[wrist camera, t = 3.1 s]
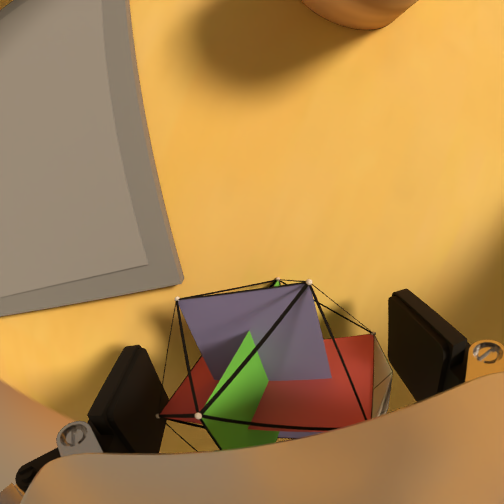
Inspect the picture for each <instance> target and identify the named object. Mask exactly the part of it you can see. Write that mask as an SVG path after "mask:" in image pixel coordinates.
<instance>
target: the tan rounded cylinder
mask: <svg viewBox="0 0 504 504" xmlns="http://www.w3.org/2000/svg"><path fill="white" fill-rule="evenodd" d="M301 1H302V2H303V3H304V4H305V5H306V6H307V7H308V8H310V9H311V10H312V11H314V12H315V13H317V14H318V15H320V16H321V17H323V18H325V19H327V20H329V21H331V22H334V23H336V24H339V25H342V26H345V27H349V28H354V29H361V30H373V29H379V28H382V27H385V26H387V25H389V24H390V23H391V22H393V21H394V20H395V19H396V18H397V17H399V16H400V15H401V14H402V13H403V12H405V11H406V10H407V9H408V8H409V7H411V6H412V5H413V4H414V3H416V2H417V1H418V0H301Z"/></svg>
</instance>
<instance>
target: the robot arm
mask: <svg viewBox="0 0 504 504" xmlns="http://www.w3.org/2000/svg"><path fill="white" fill-rule="evenodd" d="M388 315H389V323H388V358H389V361H390V363H391V365H392V366H393V368H394V369H395V370H396V372H397V373H398V375H399V376H400V378H401V379H402V380H403V382H404V383H405V385H406V386H407V388H408V389H409V391H410V392H411V394H412V395H413V397H414V398H415V400H416V401H417V402H416V403H414V404H411V405H409V406H406V407H403V408H401V409H398V410H395V411H392V412H390V413H387V414H384V415H381V416H378V417H375V418H372V419H369V420H365V421H362V422H359V423H356V424H352V425H349V426H345V427H342V428H338V429H334V430H330V431H326V432H322V433H318V434H314V435H310V436H305V437H301V438H296V439H291V440H286V441H280V442H275V443H269V444H263V445H256V446H250V447H242V448H234V449H225V450H215V451H203V452H187V453H159V450H160V446H161V441H162V437H163V433H164V429H165V425H166V423H165V422H166V421H167V419H163V418H161V419H163V420H164V421H165V422H163V421H162V420H161V419H160V418H156V414H158V413H160V412H161V411H162V409H163V408H164V407H165V405H166V404H167V402H168V401H169V398H168V396H167V394H166V392H165V390H164V388H163V387H162V384H161V382H160V380H159V377H158V375H157V373H156V371H155V369H154V366H153V364H152V362H151V360H150V357H149V355H148V353H147V351H146V349H145V348H142V347H141V346H140V345H134V346H126V347H125V348H124V349H123V351H122V353H121V354H120V356H119V358H118V360H117V361H116V363H115V365H114V367H113V368H112V370H111V372H110V374H109V376H108V377H107V379H106V381H105V383H104V385H103V387H102V388H101V390H100V392H99V394H98V396H97V398H96V399H95V401H94V403H93V405H92V407H91V409H90V411H89V413H88V415H87V416H88V418H89V421H88V423H86V422H83V421H76V422H72V423H69V424H68V425H66V426H64V427H63V428H62V429H61V430H60V432H59V433H58V435H57V438H56V440H57V446H58V448H56V449H54V450H52V451H50V452H48V453H46V454H44V455H42V456H40V457H38V458H37V459H35V460H33V461H31V462H29V463H27V464H25V465H23V466H22V467H21V468H20V469H19V470H18V472H17V474H16V478H15V479H16V485H14V484H13V483H11V484H10V485H9V486H7V487H6V488H5V489H4V490H3V491H1V492H0V504H504V346H503V345H502V344H501V343H499V342H497V341H494V340H480V341H477V342H475V343H473V344H472V345H470V344H469V343H468V342H467V338H465V337H464V336H463V335H462V334H461V333H460V332H459V331H457V330H456V329H455V328H454V327H453V326H452V325H450V324H449V323H448V322H447V321H446V320H445V319H443V318H442V317H441V316H440V315H439V314H437V313H436V312H435V311H434V310H433V309H431V308H430V307H429V306H428V305H427V304H425V303H424V302H423V301H422V300H421V299H419V298H418V297H417V296H416V295H414V294H413V293H412V292H411V291H409V290H408V289H403V290H400V291H397V292H393V294H392V297H390V298H389V300H388ZM161 389H162V394H161ZM160 397H161V402H160ZM159 405H160V409H159Z"/></svg>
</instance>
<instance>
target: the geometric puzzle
mask: <svg viewBox="0 0 504 504" xmlns="http://www.w3.org/2000/svg"><path fill="white" fill-rule="evenodd" d="M280 280H281V279H280V278H279V277H277V278H276V280H272V281H267V282H262V283H257V284H252V285H248V286H242V287H237V288H232V289H227V290H222V291H217V292H212V293H206V294H201V295H196V296H190V297H185V298H179V297H178V296H177V297H175V301H176V303H175V307H176V306H177V312H178V319H179V325H180V331H181V337H182V343H183V349H184V354H185V360H186V365H187V371H188V375H187V376H186V378H185V379H184V381H183V382H182V383H181V385H180V386H179V387H178V389H177V390H176V392H175V393H174V394H173V396H172V397H171V398H170V400H169V401H168V402H167V404H166V405H165V407H164V408H163V409H162V411H161V412H160V413H158V414H156V418H160V419H161V418H163V419H167V420H171V421H174V422H178V423H182V424H187V425H191V426H195V427H200V428H205V429H206V430H207V432H208V433H209V435H210V436H211V438H212V439H213V441H214V442H215V444H216V445H217V446H218V448H219V449H220V450H225V449H234V448H242V447H250V446H256V445H263V444H269V443H275V442H276V440H277V438H291V439H296V438H301V437H305V436H310V435H314V434H318V433H322V432H326V431H330V430H334V429H338V428H342V427H345V426H349V425H352V424H356V423H359V422H362V421H365V420H369V419H372V418H375V417H378V416H381V415H384V414H386V412H387V410H388V404H389V398H390V391H391V383H392V375H393V371H392V369H391V367H390V365H389V363H388V361H387V359H386V357H385V355H384V353H383V351H382V349H381V347H380V345H379V343H378V341H377V339H376V337H375V334H376V333H375V331H373V332H371V331H370V330H369V329H368V328H367V329H368V330H367V329H365V328H364V327H365V326H364V325H363V324H362V323H361V324H362V325H363V326H364V327H362V326H360V325H358V324H356V323H355V322H353V321H351V320H349V319H347V318H346V317H344V316H342V315H340V314H339V313H337V312H335V311H333V310H331V309H330V308H328V307H326V306H324V305H323V304H321V303H319V302H318V300H317V297H316V295H315V293H314V291H313V288H312V286H311V284H312V280H311V279H308V280H306V281H297V282H301V283H294V284H286V283H284V282H282V281H280ZM273 281H274V282H273ZM285 281H295V280H285ZM268 282H273V283H272V284H271V285H270V286H269V287H266V288H259V289H252V290H245V291H237V292H229V293H222V294H214V293H219V292H224V291H229V290H234V289H239V288H244V287H249V286H254V285H259V284H263V283H268ZM280 282H282V283H283V284H285V285H281V284H280ZM274 285H275V286H274ZM312 285H313V284H312ZM313 286H314V285H313ZM314 287H315V286H314ZM315 288H317V287H315ZM317 289H318V288H317ZM318 290H319V289H318ZM319 291H320V290H319ZM321 292H322V291H321ZM322 293H323V292H322ZM208 294H214V295H208ZM312 294H313V296H312ZM323 294H324V293H323ZM203 295H206V296H203ZM324 295H325V294H324ZM326 296H327V295H326ZM313 297H314V299H315V300H314V299H313ZM327 297H328V296H327ZM328 298H329V297H328ZM329 299H330V298H329ZM331 300H332V299H331ZM314 301H315V302H316V303H317V306H318V308H319V310H320V313H321V315H322V317H323V319H324V322H325V324H326V326H327V329H328V331H329V333H330V336H331V338H332V339H324V340H323V337H322V332H321V328H320V324H319V320H318V316H317V312H316V308H315V304H314ZM332 301H333V300H332ZM333 302H334V301H333ZM334 303H335V302H334ZM336 304H337V303H336ZM320 305H322V306H324V307H326V308H327V309H329V310H331V311H333V312H334V313H336V314H338V315H340V316H342V317H343V318H345V319H347V320H349V321H350V322H352V323H354V324H356V325H357V326H359V327H361V328H363V329H365V330H366V331H368V332H370V333H371V334H366V335H359V336H351V337H342V338H334V336H333V334H332V332H331V329H330V327H329V325H328V322H327V320H326V318H325V315H324V313H323V311H322V309H321V306H320ZM337 305H338V304H337ZM179 306H180V309H181V311H182V313H183V315H184V318H185V320H186V322H187V324H188V327H189V329H190V331H191V333H192V335H193V337H194V340H195V342H196V344H197V346H198V348H199V350H200V352H201V354H202V356H201V357H200V358H199V360H198V361H197V363H196V364H195V365H194V367H193V368H192V370H191V371H190V366H189V361H188V356H187V350H186V345H185V339H184V334H183V328H182V322H181V316H180V310H179ZM338 306H339V305H338ZM339 307H340V306H339ZM341 308H342V307H341ZM342 309H343V308H342ZM343 310H344V309H343ZM344 311H345V310H344ZM174 312H175V309H174ZM346 312H347V311H346ZM347 313H348V312H347ZM348 314H349V313H348ZM349 315H350V314H349ZM351 316H352V315H351ZM352 317H353V316H352ZM173 318H174V314H173ZM353 318H354V317H353ZM354 319H355V318H354ZM356 320H357V319H356ZM357 321H358V320H357ZM358 322H359V321H358ZM172 323H173V320H172ZM359 323H360V322H359ZM171 329H172V325H171ZM170 335H171V331H170ZM169 341H170V337H169ZM168 347H169V343H168ZM167 353H168V349H167ZM166 360H167V356H166ZM165 366H166V362H165ZM164 373H165V369H164ZM373 379H374V384H373ZM163 380H164V375H163ZM162 387H163V382H162ZM161 394H162V389H161ZM160 402H161V397H160ZM159 409H160V405H159ZM163 419H161V420H162V421H163V422H165V421H164V420H163ZM184 421H186V422H184ZM189 422H192V423H189ZM165 423H166V422H165ZM193 423H199V424H203V426H202V425H197V424H193ZM166 424H167V423H166ZM167 425H168V424H167ZM168 426H169V425H168ZM169 427H170V426H169ZM170 428H171V427H170ZM171 429H172V428H171ZM172 430H173V429H172ZM173 431H174V430H173ZM174 432H175V431H174ZM175 433H176V432H175ZM176 434H177V433H176ZM177 435H178V436H180V435H179V434H177ZM180 437H181V436H180ZM181 438H182V437H181ZM182 439H183V438H182ZM183 440H184V439H183ZM184 441H185V440H184ZM185 442H186V441H185ZM186 443H187V444H189V443H188V442H186ZM189 445H190V444H189ZM190 446H191V445H190ZM191 447H192V446H191ZM192 448H193V447H192ZM193 449H194V450H196V449H195V448H193ZM196 451H197V450H196ZM197 452H198V451H197Z"/></svg>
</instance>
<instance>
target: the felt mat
mask: <svg viewBox="0 0 504 504" xmlns="http://www.w3.org/2000/svg"><path fill="white" fill-rule="evenodd" d="M183 280H184V275H183V272H182V268H181V265H180V261H179V258H178V254H177V251H176V247H175V243H174V239H173V236H172V232H171V228H170V224H169V220H168V216H167V212H166V208H165V204H164V200H163V196H162V192H161V188H160V183H159V179H158V175H157V170H156V166H155V161H154V156H153V152H152V147H151V142H150V137H149V132H148V127H147V122H146V116H145V111H144V105H143V100H142V94H141V88H140V82H139V75H138V69H137V62H136V55H135V48H134V40H133V32H132V24H131V15H130V5H129V0H13V1H12V2H11V3H9V4H8V5H6V6H5V7H4V8H3V9H1V10H0V316H6V315H12V314H18V313H24V312H30V311H36V310H41V309H47V308H53V307H59V306H64V305H70V304H76V303H81V302H87V301H92V300H98V299H103V298H109V297H114V296H120V295H125V294H131V293H136V292H141V291H146V290H152V289H157V288H162V287H167V286H173V285H178V284H182V282H183Z"/></svg>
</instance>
